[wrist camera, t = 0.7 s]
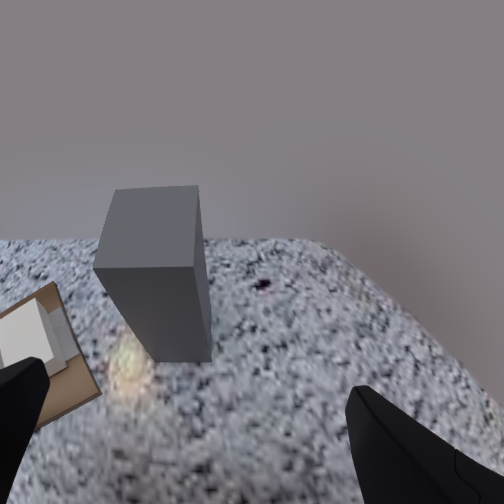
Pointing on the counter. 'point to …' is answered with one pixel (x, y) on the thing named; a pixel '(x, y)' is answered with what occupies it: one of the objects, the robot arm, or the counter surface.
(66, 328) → the rail
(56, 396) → the board
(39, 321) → the terminal blocks
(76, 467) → the counter surface
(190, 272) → the block
